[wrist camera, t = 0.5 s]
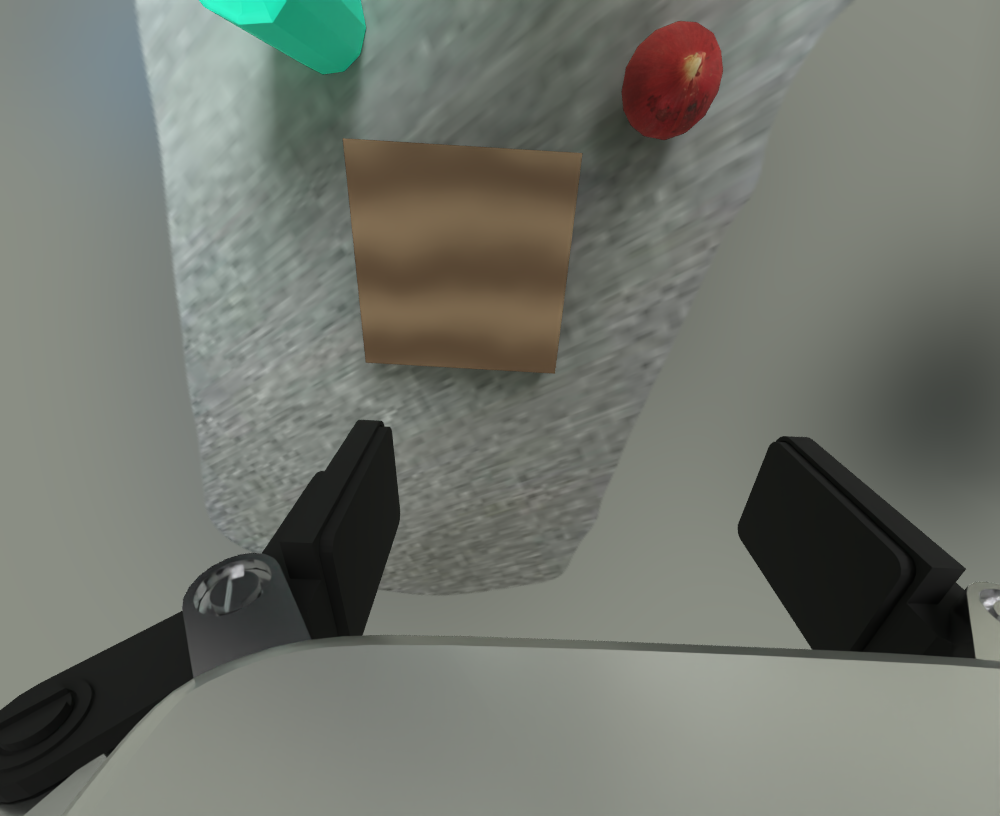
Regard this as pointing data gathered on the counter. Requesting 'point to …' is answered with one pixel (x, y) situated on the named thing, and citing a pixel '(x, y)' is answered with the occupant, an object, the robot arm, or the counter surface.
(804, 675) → the robot arm
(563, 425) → the counter surface
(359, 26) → the candle
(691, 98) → the onion
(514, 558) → the counter surface
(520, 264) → the walnut base
